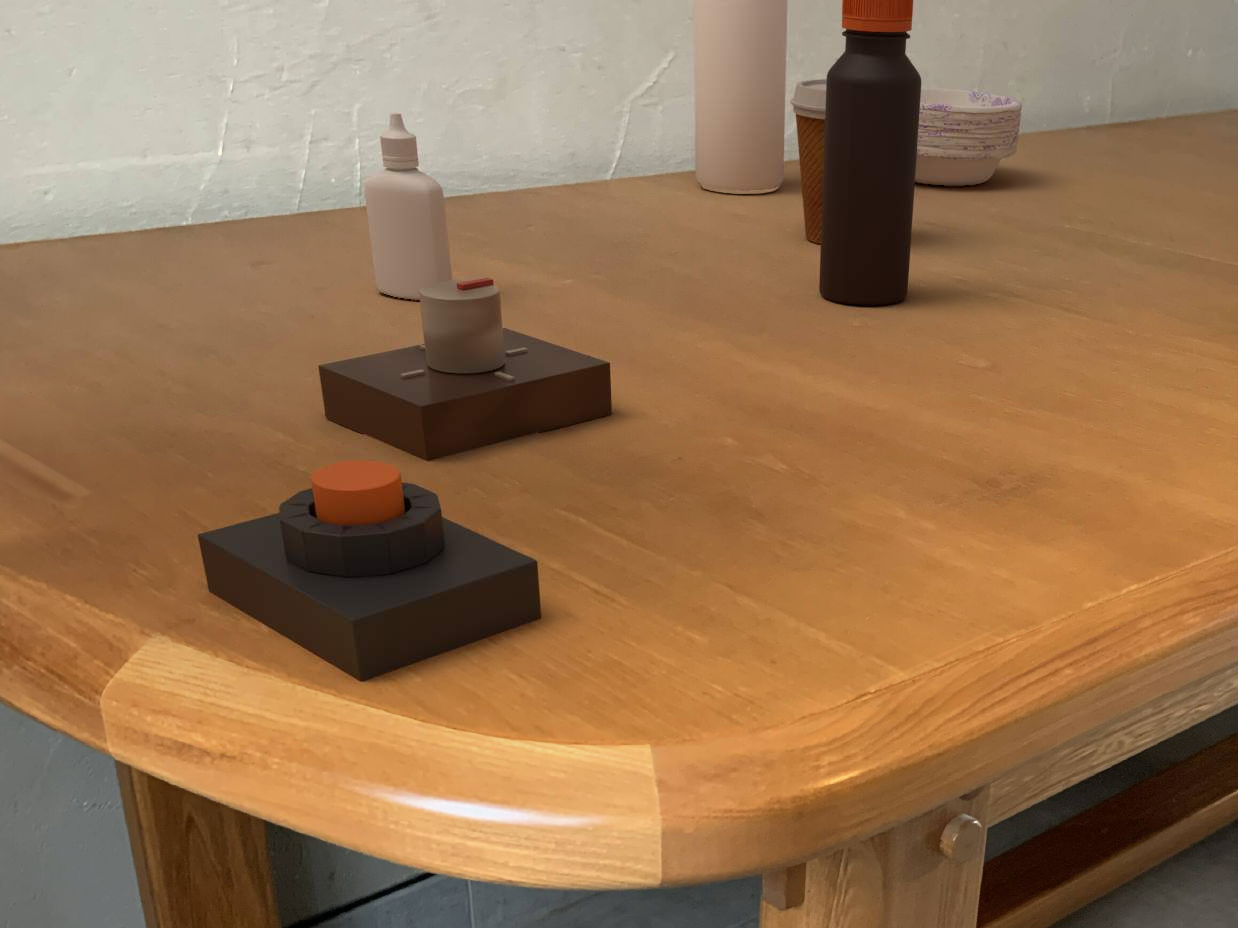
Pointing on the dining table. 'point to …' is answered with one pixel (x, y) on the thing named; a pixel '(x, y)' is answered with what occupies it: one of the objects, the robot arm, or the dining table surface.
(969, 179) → the paper bowls
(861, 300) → the dark brown water bottle
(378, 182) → the eye dropper bottle
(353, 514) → the button
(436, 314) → the dial
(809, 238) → the disposable coffee cup
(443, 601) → the button base
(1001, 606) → the dining table surface
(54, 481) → the dining table surface
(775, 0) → the pale pink cylinder
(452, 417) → the dial panel
